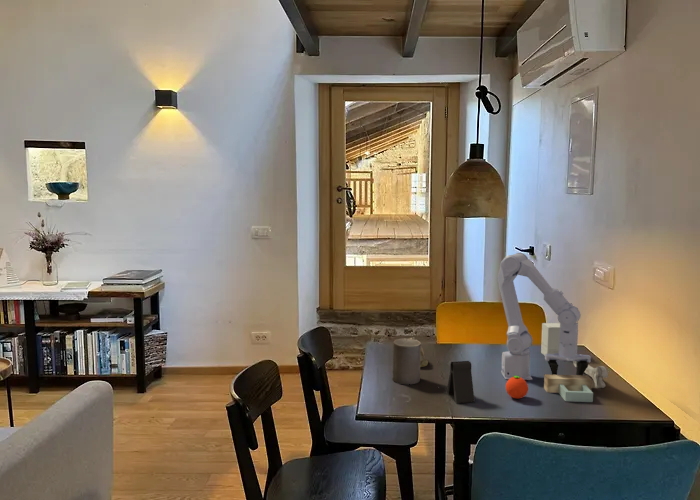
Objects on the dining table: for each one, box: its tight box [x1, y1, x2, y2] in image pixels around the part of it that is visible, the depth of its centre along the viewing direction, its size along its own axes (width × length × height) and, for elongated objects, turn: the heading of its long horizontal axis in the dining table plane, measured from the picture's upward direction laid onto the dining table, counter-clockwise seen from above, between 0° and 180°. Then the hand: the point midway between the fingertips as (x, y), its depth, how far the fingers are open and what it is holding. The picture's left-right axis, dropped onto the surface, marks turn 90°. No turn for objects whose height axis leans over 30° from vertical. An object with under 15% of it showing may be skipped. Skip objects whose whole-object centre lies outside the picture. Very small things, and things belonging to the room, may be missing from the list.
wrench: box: [572, 361, 609, 389], centre depth 191 cm, size 8×2×30 cm
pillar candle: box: [392, 337, 422, 386], centre depth 189 cm, size 10×10×15 cm
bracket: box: [558, 384, 594, 403], centre depth 174 cm, size 8×7×3 cm
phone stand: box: [446, 360, 476, 405], centre depth 173 cm, size 9×6×12 cm, turn 10°
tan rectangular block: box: [543, 373, 593, 394], centre depth 179 cm, size 14×4×5 cm, turn 85°
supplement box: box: [540, 322, 560, 357], centre depth 217 cm, size 7×7×13 cm
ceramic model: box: [409, 336, 429, 368], centre depth 209 cm, size 14×11×10 cm
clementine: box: [505, 376, 529, 400], centre depth 174 cm, size 8×7×7 cm
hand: (566, 381), depth 183 cm, fingers open, 7 cm apart
